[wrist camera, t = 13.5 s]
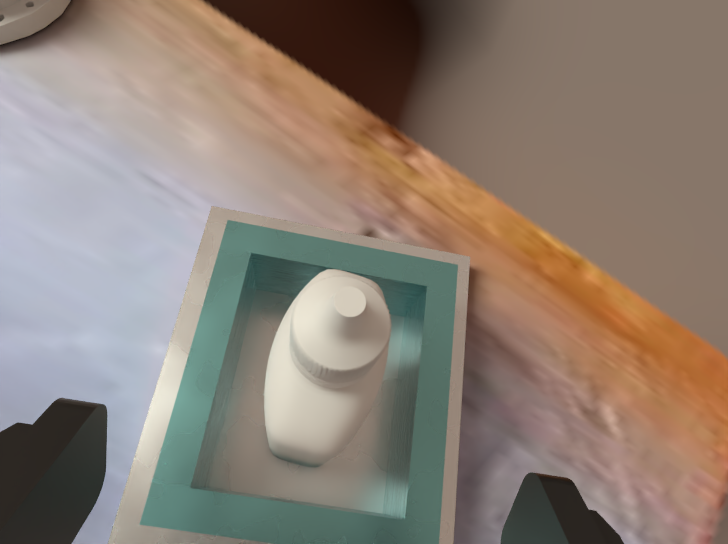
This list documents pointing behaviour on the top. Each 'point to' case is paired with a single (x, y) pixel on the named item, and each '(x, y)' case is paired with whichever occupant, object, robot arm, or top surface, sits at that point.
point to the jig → (246, 400)
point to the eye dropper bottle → (325, 367)
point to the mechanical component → (27, 17)
